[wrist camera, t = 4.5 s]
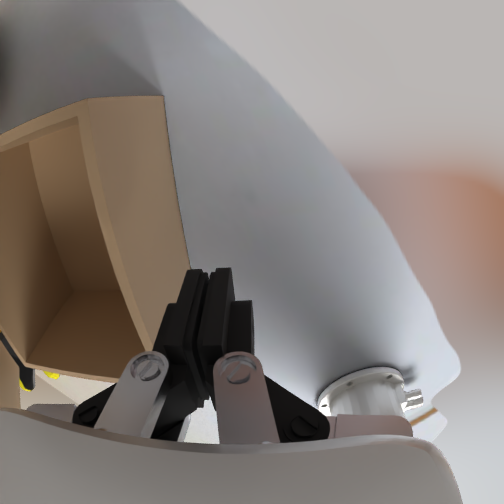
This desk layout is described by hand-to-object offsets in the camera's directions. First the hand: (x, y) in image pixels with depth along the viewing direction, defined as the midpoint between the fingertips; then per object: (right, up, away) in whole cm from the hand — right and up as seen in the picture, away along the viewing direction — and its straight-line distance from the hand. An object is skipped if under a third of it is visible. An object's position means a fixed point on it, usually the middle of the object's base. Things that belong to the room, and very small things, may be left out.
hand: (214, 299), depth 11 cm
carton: (-11, +5, +12) cm, 17 cm away
